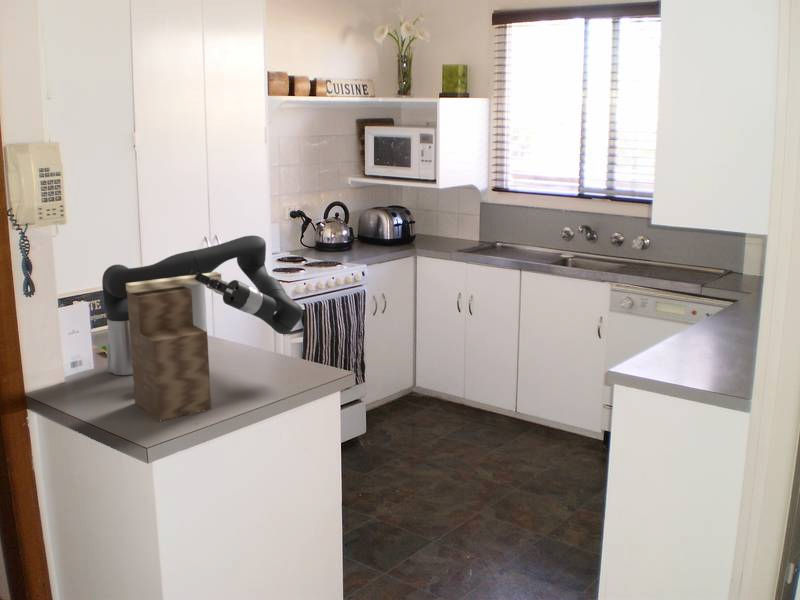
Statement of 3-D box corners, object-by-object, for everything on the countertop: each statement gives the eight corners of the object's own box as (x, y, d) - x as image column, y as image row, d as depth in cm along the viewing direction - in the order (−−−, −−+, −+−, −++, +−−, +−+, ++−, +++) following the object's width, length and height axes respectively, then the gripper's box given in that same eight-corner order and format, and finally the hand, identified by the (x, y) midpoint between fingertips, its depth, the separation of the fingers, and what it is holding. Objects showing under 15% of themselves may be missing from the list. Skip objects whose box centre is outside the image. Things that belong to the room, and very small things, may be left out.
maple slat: (216, 278, 244) (215, 271, 243) (221, 281, 241) (221, 274, 240) (126, 290, 228) (125, 283, 228) (130, 293, 226) (130, 285, 225)
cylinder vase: (169, 360, 277) (164, 284, 271) (169, 349, 289) (165, 276, 283) (208, 357, 280) (204, 283, 274) (207, 346, 292) (204, 275, 286)
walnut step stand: (185, 392, 247) (179, 284, 240) (211, 409, 234) (205, 295, 226) (135, 403, 238) (126, 291, 231) (158, 421, 225) (150, 303, 218)
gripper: (237, 281, 254) (188, 258, 243) (260, 290, 243) (209, 266, 232) (226, 304, 253) (177, 282, 242) (248, 314, 242) (198, 291, 231)
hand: (193, 274), depth 237 cm, fingers closed on maple slat, 3 cm apart
